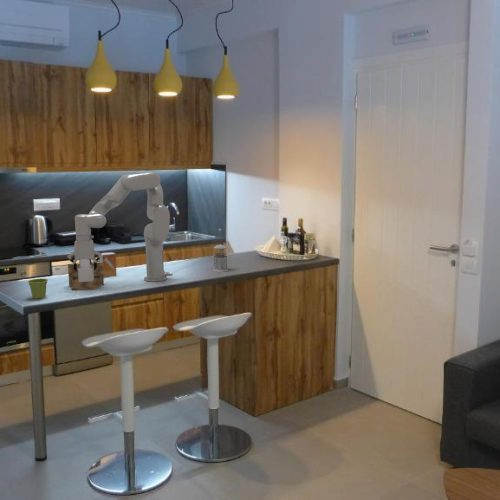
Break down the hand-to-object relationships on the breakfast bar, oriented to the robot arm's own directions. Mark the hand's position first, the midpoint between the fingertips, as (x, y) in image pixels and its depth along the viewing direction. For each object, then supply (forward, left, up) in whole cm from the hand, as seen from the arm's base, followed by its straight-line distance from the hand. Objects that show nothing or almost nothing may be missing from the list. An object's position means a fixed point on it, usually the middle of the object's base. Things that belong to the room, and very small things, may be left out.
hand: (85, 270), depth 325 cm
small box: (-11, -30, -10) cm, 34 cm away
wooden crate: (0, -2, -10) cm, 10 cm away
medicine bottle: (0, 0, -6) cm, 6 cm away
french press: (-77, -29, -10) cm, 83 cm away
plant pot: (+22, +16, -10) cm, 29 cm away
